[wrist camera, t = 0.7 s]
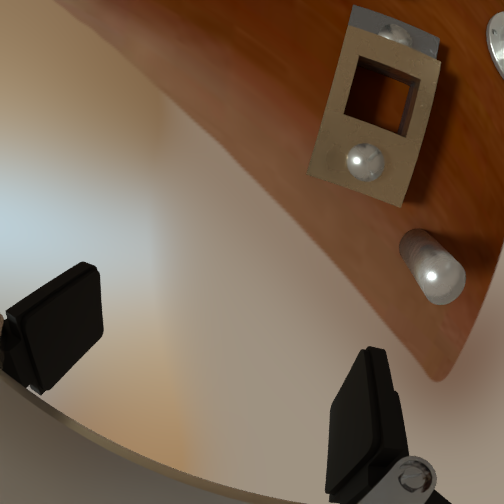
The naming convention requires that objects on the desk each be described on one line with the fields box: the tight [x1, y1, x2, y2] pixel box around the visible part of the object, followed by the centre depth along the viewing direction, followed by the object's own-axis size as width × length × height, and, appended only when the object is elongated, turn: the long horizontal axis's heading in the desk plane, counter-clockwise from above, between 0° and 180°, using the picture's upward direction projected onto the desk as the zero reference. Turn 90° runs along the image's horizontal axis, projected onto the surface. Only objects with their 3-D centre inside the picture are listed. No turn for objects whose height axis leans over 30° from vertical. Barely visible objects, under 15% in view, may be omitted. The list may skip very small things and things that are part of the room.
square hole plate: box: [307, 5, 441, 208], centre depth 26 cm, size 20×10×5 cm, turn 165°
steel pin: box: [399, 229, 466, 305], centre depth 28 cm, size 4×4×10 cm
